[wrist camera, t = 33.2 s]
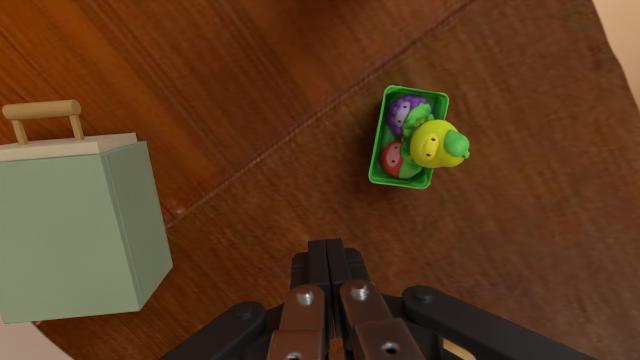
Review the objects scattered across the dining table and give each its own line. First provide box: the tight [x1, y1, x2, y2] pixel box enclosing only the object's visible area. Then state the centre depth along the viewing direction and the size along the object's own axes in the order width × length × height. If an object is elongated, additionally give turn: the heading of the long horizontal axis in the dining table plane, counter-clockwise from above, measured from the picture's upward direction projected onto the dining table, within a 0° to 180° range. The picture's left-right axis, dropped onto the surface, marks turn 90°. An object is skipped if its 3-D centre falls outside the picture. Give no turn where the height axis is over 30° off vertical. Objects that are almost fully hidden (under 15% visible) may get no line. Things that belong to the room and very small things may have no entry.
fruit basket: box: [369, 86, 469, 189], centre depth 37 cm, size 11×9×11 cm
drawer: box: [0, 100, 137, 162], centre depth 37 cm, size 21×14×8 cm, turn 4°
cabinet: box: [0, 141, 173, 324], centre depth 39 cm, size 18×15×10 cm
